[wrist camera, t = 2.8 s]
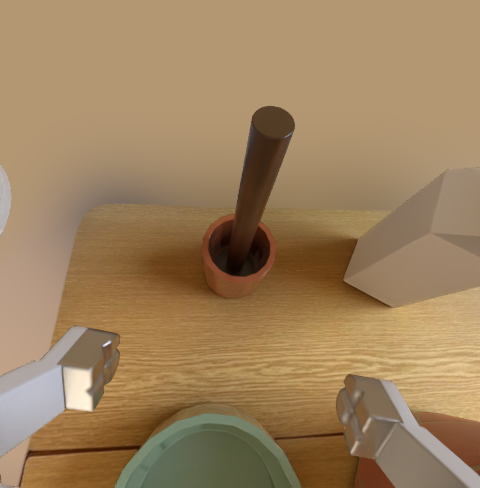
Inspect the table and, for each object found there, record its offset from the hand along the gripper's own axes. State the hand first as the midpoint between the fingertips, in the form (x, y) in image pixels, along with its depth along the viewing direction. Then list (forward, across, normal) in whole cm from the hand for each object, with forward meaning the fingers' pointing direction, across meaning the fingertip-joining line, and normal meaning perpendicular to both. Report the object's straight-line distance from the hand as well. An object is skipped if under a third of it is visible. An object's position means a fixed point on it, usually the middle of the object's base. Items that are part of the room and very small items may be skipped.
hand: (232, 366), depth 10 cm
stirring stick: (+22, 0, +8) cm, 23 cm away
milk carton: (+25, -18, +6) cm, 32 cm away
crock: (+23, 0, +8) cm, 24 cm away
